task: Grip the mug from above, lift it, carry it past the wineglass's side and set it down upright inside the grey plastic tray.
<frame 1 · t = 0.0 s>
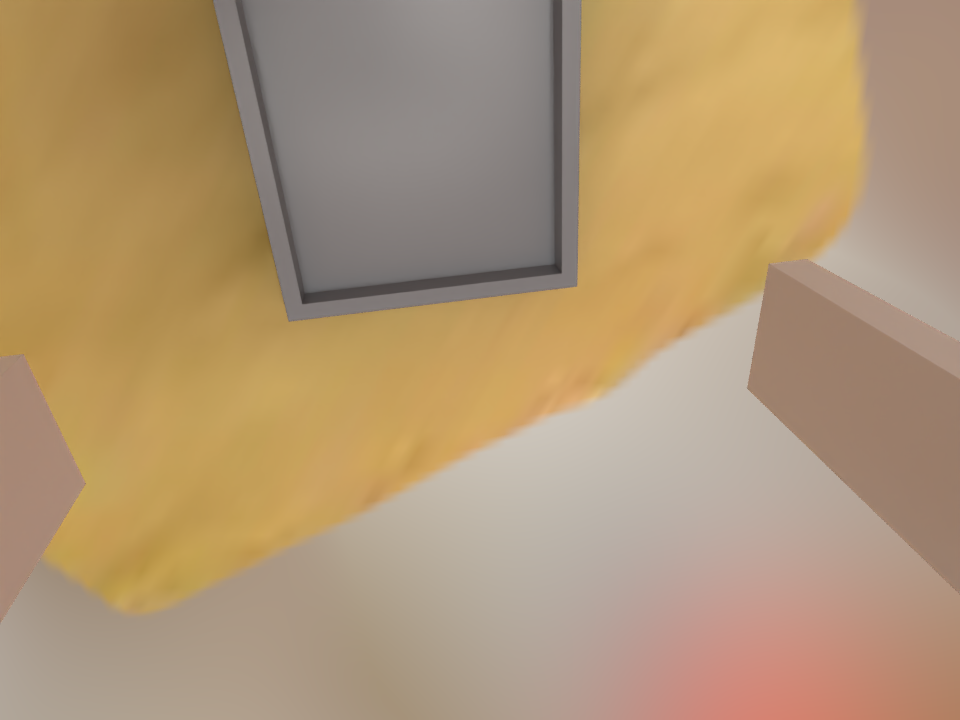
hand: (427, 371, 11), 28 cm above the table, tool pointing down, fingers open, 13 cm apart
tray: (413, 109, 35), on the table
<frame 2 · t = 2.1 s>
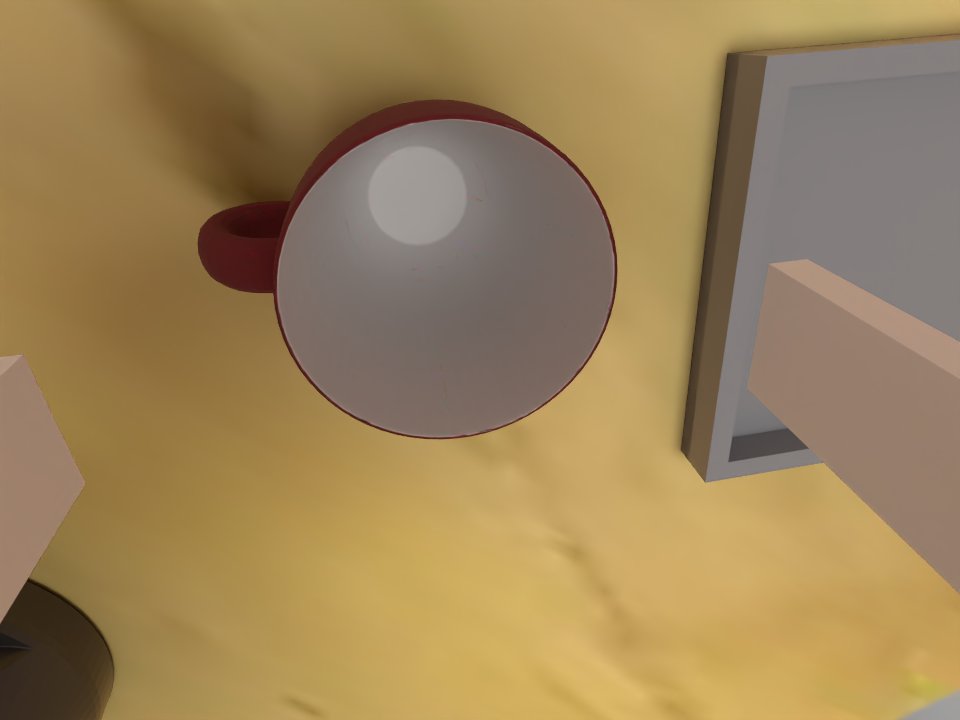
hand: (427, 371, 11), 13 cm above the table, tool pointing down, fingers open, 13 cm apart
mug: (384, 199, 23), on the table
tray: (928, 254, 28), on the table
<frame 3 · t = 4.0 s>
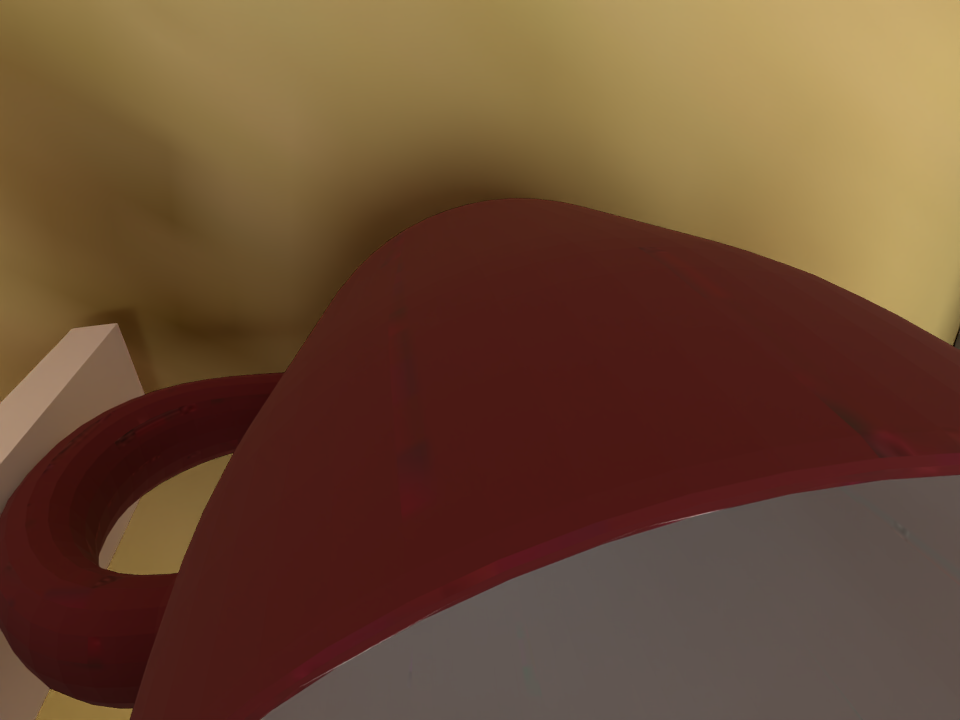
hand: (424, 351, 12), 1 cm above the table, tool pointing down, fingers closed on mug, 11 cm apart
mug: (421, 327, 13), on the table, touching gripper
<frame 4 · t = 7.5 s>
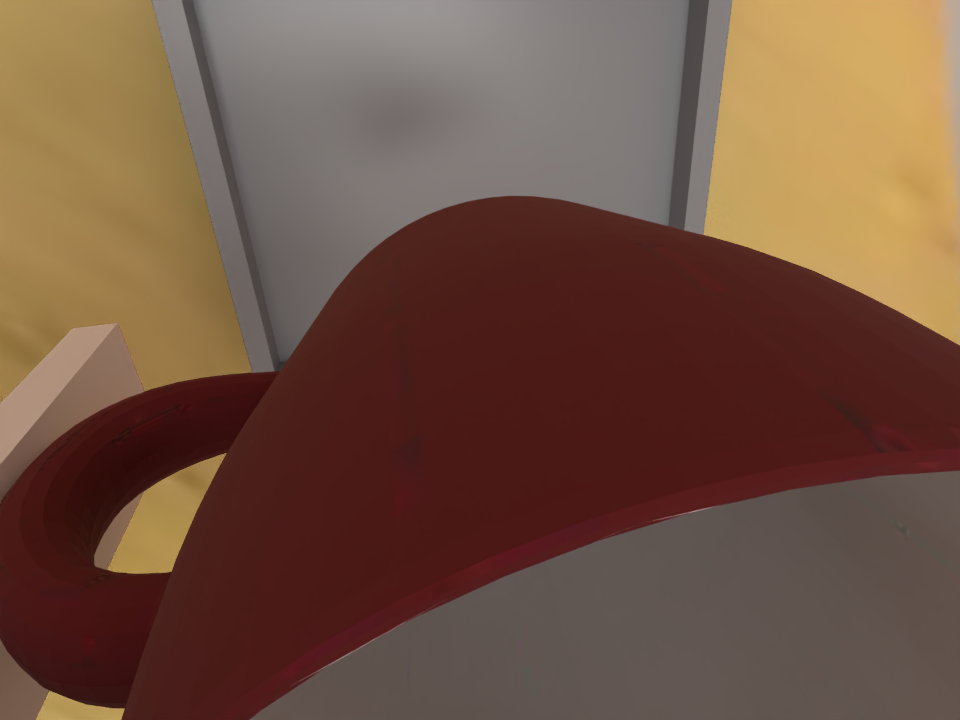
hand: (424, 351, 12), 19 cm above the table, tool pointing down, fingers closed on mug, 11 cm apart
mug: (419, 325, 13), point 17 cm above the table, touching gripper
tray: (464, 177, 29), on the table
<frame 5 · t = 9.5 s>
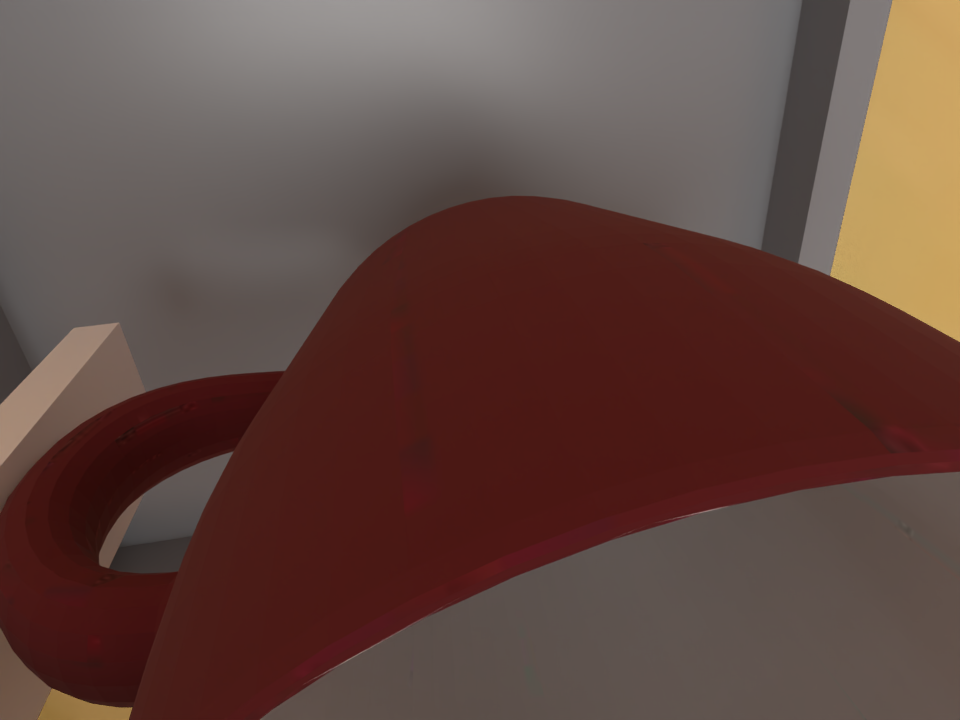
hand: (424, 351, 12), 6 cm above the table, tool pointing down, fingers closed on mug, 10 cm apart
mug: (422, 325, 13), point 5 cm above the table, touching gripper
tray: (408, 256, 17), on the table
when the fingers open (3 cm above the table, at t = 11.0 s): mug drops 1 cm, resting on tray.
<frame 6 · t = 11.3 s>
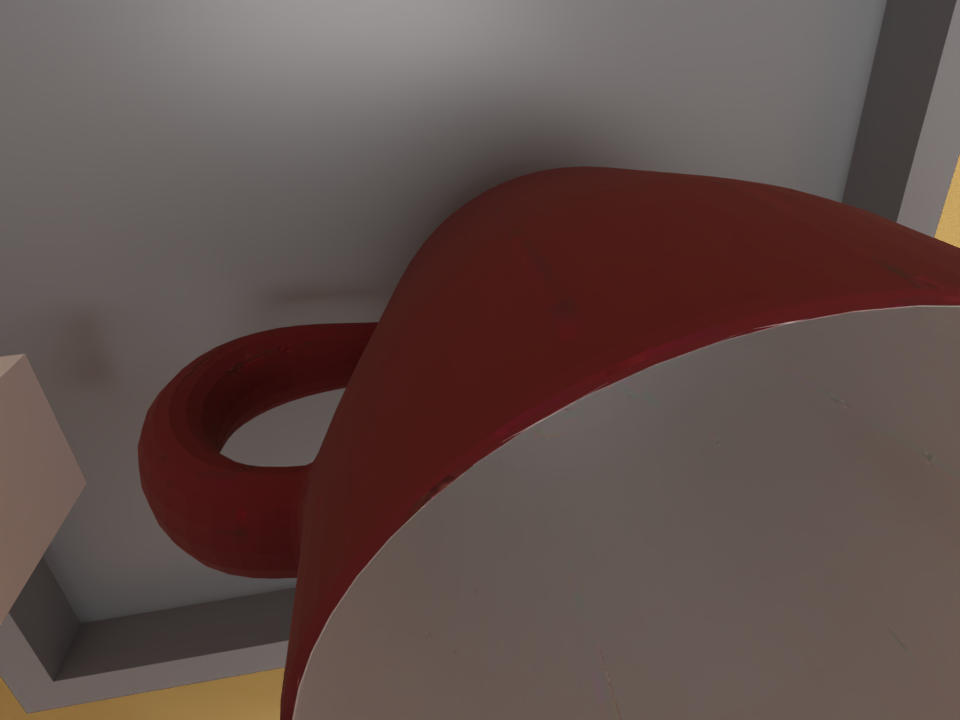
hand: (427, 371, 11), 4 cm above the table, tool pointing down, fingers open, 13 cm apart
mug: (478, 294, 14), point 1 cm above the table, touching gripper, tray
tray: (414, 294, 15), on the table
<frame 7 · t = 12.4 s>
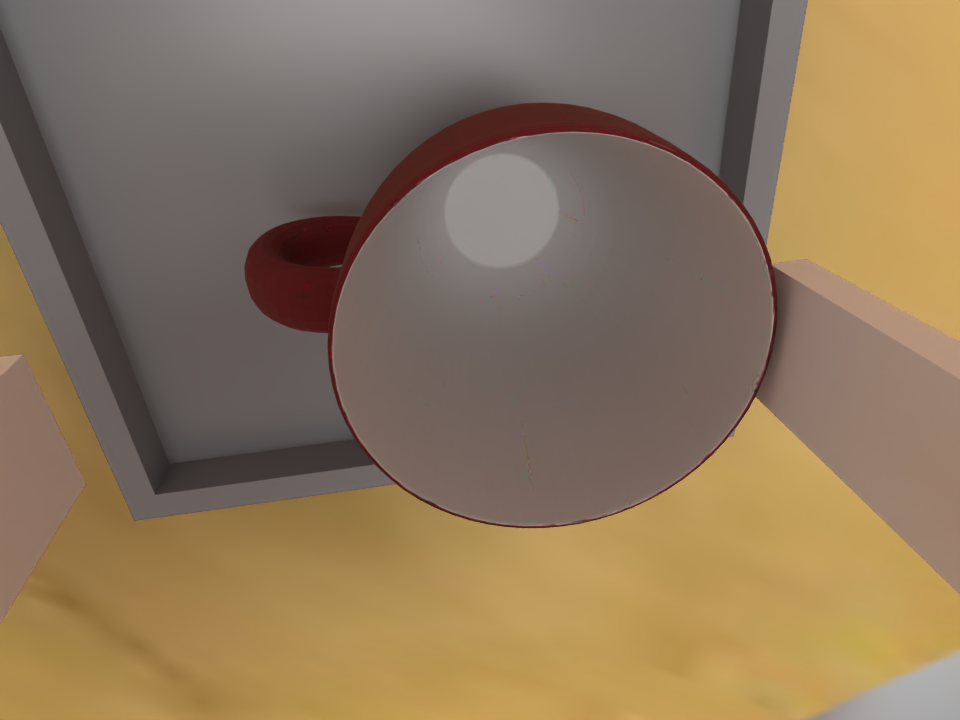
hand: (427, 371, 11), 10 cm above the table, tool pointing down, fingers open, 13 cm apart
mug: (461, 213, 20), point 1 cm above the table, touching tray
tray: (416, 215, 20), on the table
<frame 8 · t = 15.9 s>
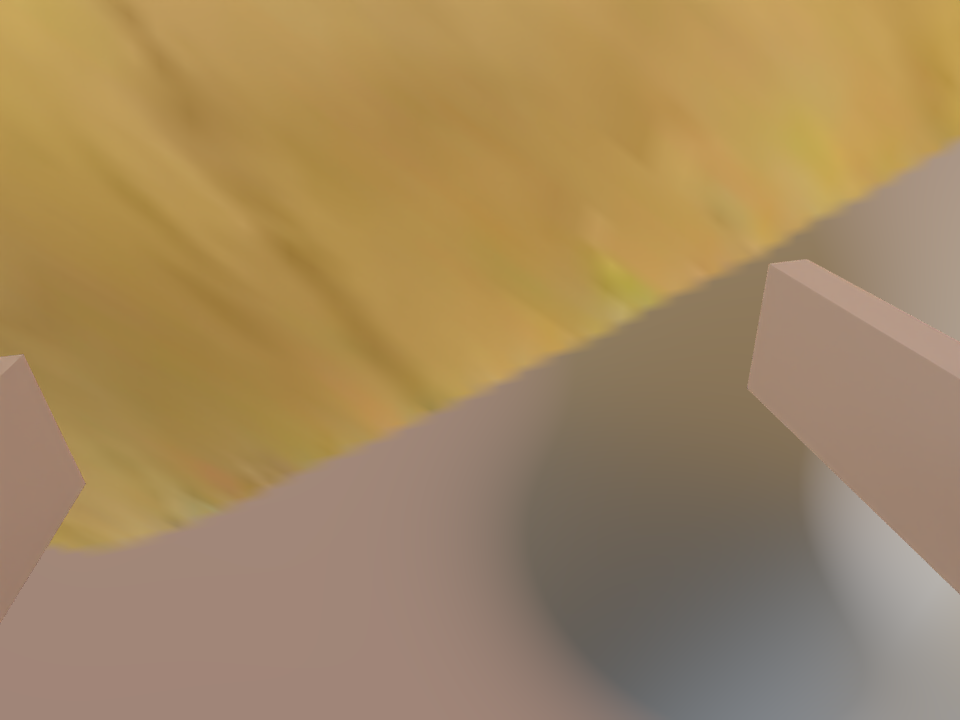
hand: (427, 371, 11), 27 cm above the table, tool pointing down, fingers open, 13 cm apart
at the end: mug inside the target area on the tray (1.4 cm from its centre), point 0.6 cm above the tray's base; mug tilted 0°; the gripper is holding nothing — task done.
